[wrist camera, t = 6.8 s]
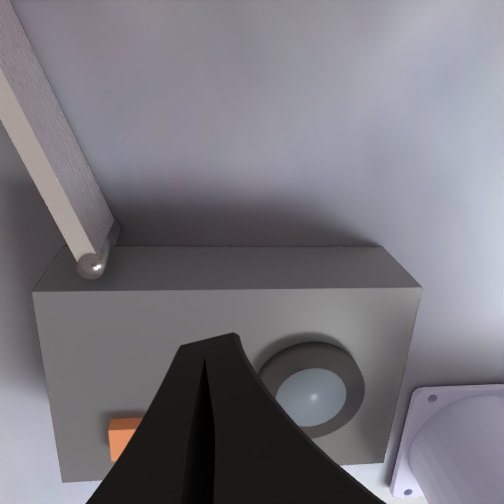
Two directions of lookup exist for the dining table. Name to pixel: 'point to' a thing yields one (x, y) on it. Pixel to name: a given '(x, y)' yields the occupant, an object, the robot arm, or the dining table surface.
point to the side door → (52, 151)
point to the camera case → (219, 323)
